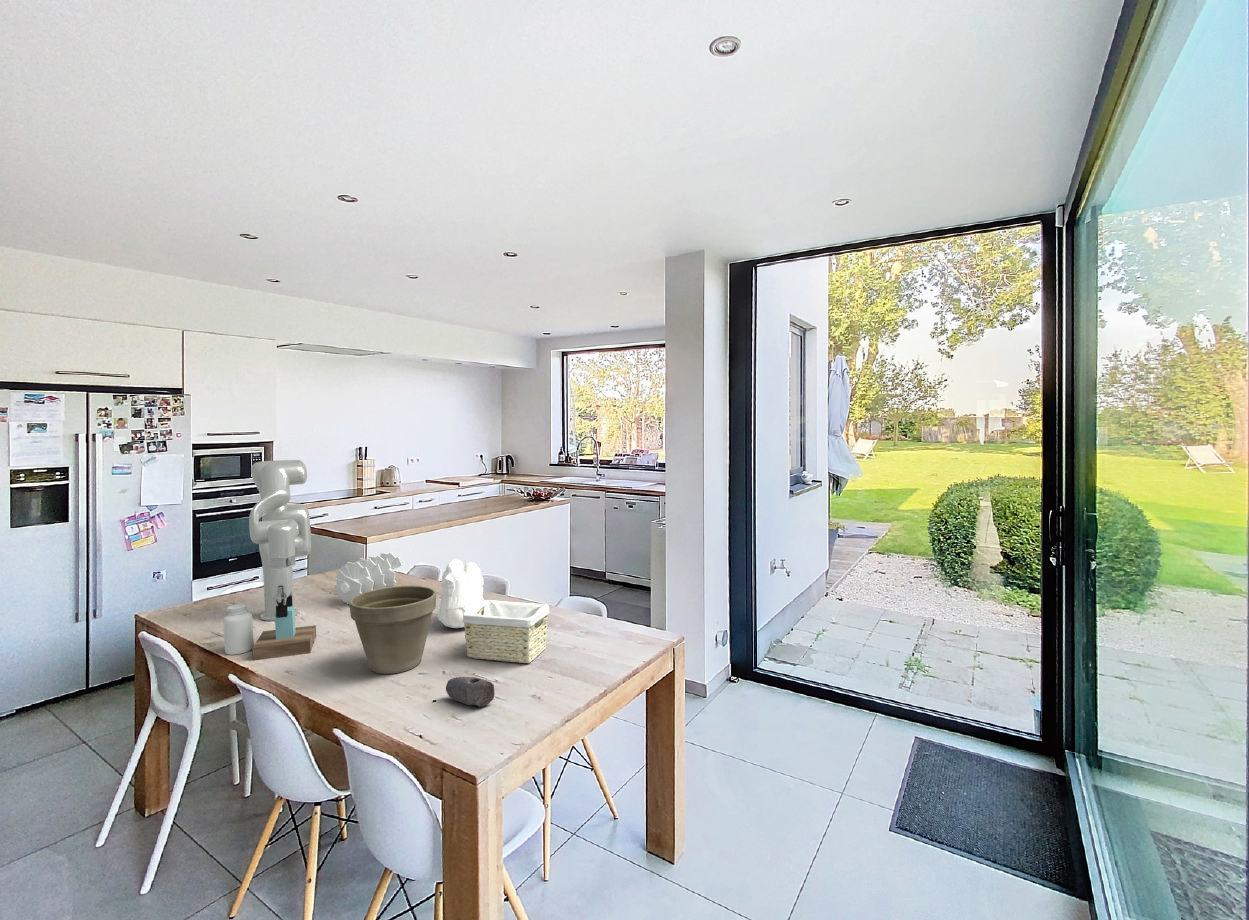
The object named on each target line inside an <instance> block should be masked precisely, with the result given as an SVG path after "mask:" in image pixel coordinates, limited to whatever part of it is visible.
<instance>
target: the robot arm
mask: <svg viewBox="0 0 1249 920" xmlns="http://www.w3.org/2000/svg"><path fill="white" fill-rule="evenodd" d="M250 472H251V477H252V481H253V482H254V484H255V487H256V489H257V491H258V492H259V493H258V494H259V496H260V500H259V501H258V502H257V503H255V505H254V506H253V507H252V509H251V510H250V513H249V518H248V525H249V527H248V528H249V538H250V539H251V541H252V543H253V544H256V545H258V549H259V554H260V558H261V564H262V565H261V566H262V574H263V575H262V577H263V581H262V582H263V599H264V612H263V613H261V614H260V615H259V616H260V620H262V621H267V622H269V621H270V622H271V621H272V622H273V621H274V622H275V611H276V617H277V618H281V617H287V616H288V610H287V607H292V606H294V594H293V593H294V589H293V587H294V581H293V579H294V578H293V576H294V575H293V567H294V566H296V558H301V557H306V556H309V555H310V554H311V552H312V536H311V520H310V519H311V518H310V512H309V509H308V507H307V506H306V505H304V504H288V503H289V502H290V501H291V490H290V486H294V485H295V486H296V485H303V484H305V483H306V482H307V479H308V471H307V467H306V464H304V462H303V461H302V460H301V459H286V460H263V461H257V462H254V463H253V464H252V466H251V469H250ZM260 518H261V521H259V520H260ZM298 614H299V610H298V609H297V608H295V616H296V615H298Z"/></svg>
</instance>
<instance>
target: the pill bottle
mask: <svg viewBox="0 0 1249 920" xmlns="http://www.w3.org/2000/svg"><path fill="white" fill-rule="evenodd" d="M226 610H227V615H225V616H224V618H223V621H222V622H223V637H224V638H223V639H224V652H225V654H226V655H233V656H234V655H240V654H241V655H242V654H245V653H248V652H250V651H253V647H254V630H253V629H254V628H253V615H252V612H250V611H248V608H247V604H246V603H235V604H231V605H228V606H227V608H226Z"/></svg>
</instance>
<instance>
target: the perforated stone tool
mask: <svg viewBox="0 0 1249 920" xmlns="http://www.w3.org/2000/svg"><path fill="white" fill-rule="evenodd" d="M495 691H496V690H495V685H494V683H493V682H491V681H489V680H487V679H486V680H485V679H483V678H480V677H479V678H478V677H474V676H472V677H471V676H458V677H457V676H456V677H453V678H451V679H448V681H447V683H446V686H445V692H446V693H447V695H448V696H449V698H450V699H452V700H454V701H456V702H459V703H461V704H464V705H467V706H477V707H480V708H481V707H482V708H483V707H484V706H485V705H489V704H490V703H491V702H492V701H493V700H494V698H495Z"/></svg>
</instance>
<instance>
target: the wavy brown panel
mask: <svg viewBox="0 0 1249 920" xmlns="http://www.w3.org/2000/svg"><path fill="white" fill-rule="evenodd" d="M295 629H296V633H295V635H294V637H293V638H285V639H276V630H275V629H271V630H263V631H262V632H261V634H260V636H259V637H258V638H257V641H255V643H254V644H253V649H252V659H253V661H258V660H267V659H274V658H275V659H276V658H282V657H291V656H297V655H304V654H305V655H306V654H311V652H312V650H313V647H314V645H315V644H314V643H315V641H316V639H317V625H306V626H297V627H296V626H295Z"/></svg>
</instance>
